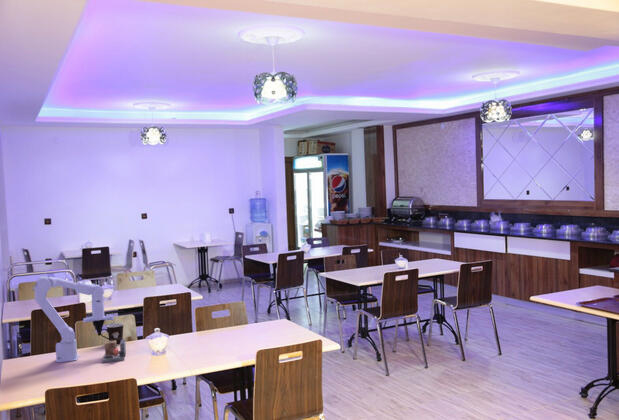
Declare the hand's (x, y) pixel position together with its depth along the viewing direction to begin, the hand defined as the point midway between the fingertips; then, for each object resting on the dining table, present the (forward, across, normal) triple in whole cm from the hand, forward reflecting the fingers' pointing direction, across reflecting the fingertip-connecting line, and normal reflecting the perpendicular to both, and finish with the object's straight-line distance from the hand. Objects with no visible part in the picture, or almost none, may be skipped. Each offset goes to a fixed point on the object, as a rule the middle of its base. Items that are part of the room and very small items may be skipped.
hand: (99, 335), depth 290 cm
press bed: (+10, +8, -9) cm, 16 cm away
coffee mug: (+10, +4, +20) cm, 23 cm away
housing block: (+9, +6, -6) cm, 12 cm away
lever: (+8, +9, -15) cm, 20 cm away
